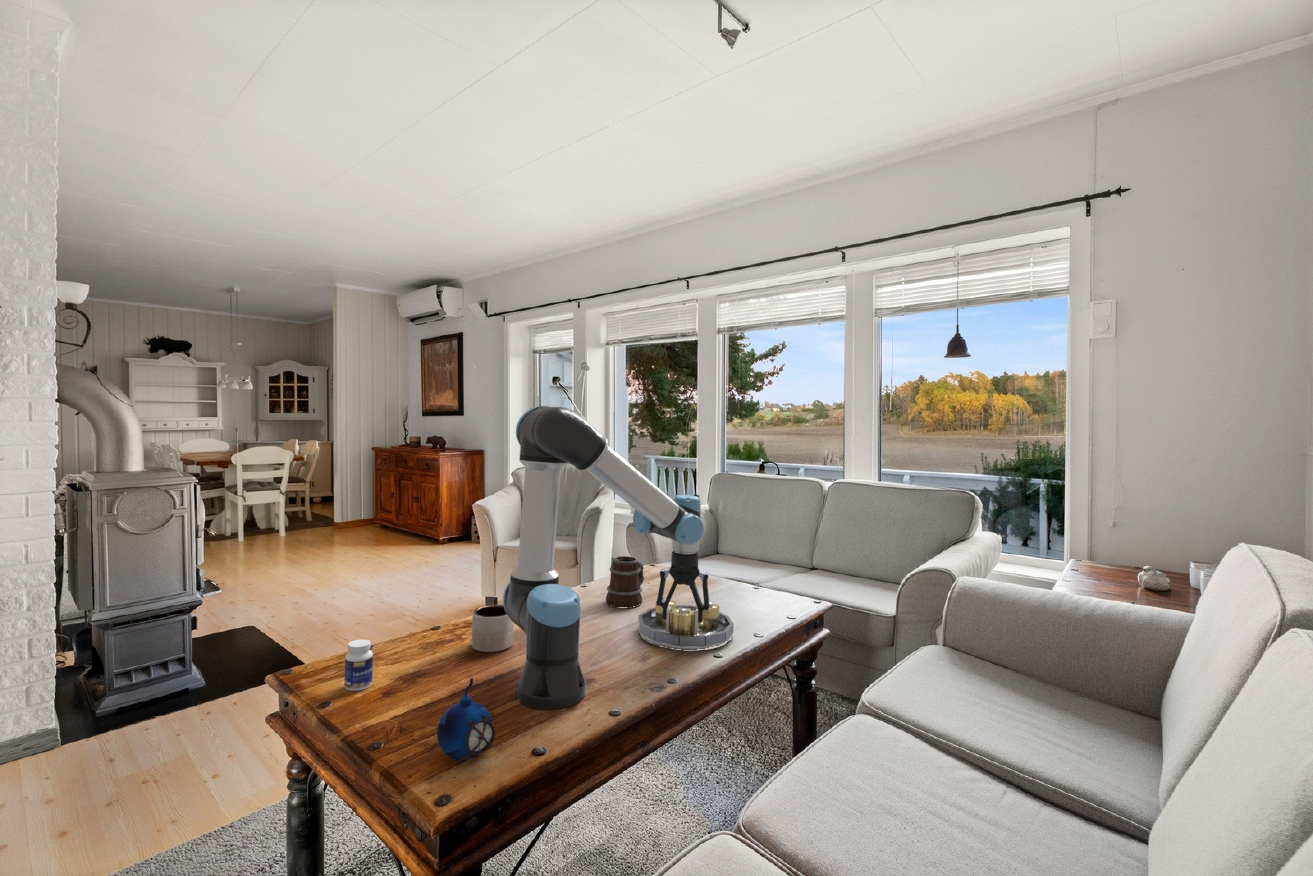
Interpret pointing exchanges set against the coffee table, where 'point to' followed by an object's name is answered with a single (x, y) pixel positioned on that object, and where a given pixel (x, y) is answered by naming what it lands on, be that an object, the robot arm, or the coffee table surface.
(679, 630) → the planet gear
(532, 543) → the robot arm
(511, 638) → the planter
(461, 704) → the bomb
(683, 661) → the coffee table surface
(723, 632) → the carrier
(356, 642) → the pill bottle
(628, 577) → the mug
